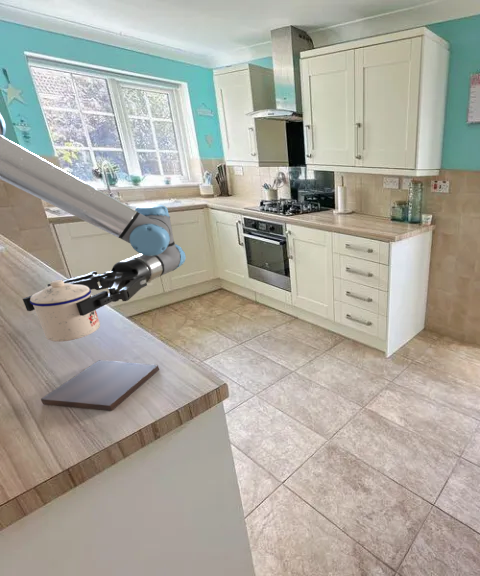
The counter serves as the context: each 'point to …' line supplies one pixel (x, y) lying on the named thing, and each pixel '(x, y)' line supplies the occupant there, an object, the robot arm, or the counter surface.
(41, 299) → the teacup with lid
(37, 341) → the counter surface
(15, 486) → the counter surface
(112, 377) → the serving board
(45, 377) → the counter surface
